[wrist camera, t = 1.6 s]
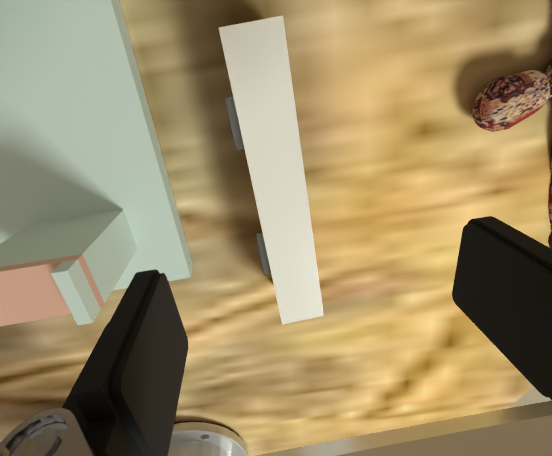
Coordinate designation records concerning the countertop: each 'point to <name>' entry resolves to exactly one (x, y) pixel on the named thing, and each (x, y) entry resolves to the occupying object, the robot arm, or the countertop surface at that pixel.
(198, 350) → the countertop surface
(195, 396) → the countertop surface
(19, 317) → the display stand
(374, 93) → the countertop surface
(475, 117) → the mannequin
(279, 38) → the cream rectangular beam
